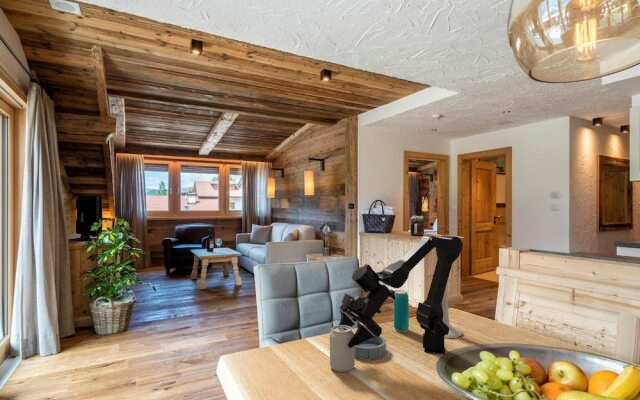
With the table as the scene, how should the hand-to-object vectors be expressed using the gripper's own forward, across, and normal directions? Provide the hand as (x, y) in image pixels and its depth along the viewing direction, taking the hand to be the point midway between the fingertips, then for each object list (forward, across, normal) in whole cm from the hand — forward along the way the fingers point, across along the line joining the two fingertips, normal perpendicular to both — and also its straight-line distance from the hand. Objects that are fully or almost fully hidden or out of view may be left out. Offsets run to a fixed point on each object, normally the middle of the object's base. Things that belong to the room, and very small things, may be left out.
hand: (342, 341), depth 106 cm
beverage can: (-19, -20, +30) cm, 41 cm away
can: (+6, 0, +6) cm, 8 cm away
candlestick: (-29, -12, +40) cm, 50 cm away
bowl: (-3, -8, +14) cm, 17 cm away
